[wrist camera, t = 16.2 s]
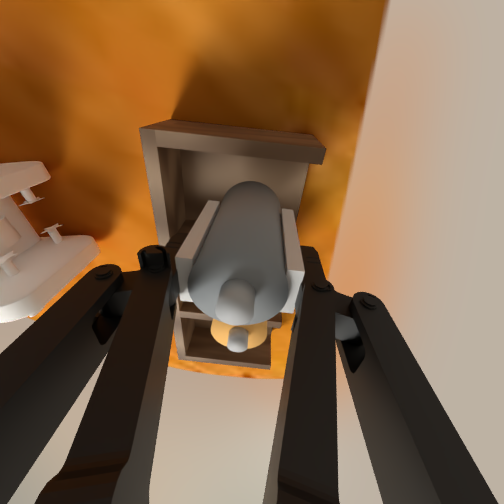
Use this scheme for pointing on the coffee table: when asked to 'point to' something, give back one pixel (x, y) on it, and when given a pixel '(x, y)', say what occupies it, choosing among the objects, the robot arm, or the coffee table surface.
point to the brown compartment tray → (214, 188)
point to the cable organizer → (33, 248)
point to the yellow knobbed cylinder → (239, 335)
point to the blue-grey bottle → (242, 259)
